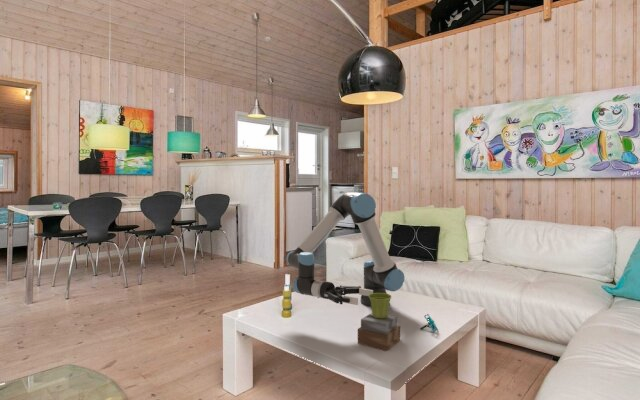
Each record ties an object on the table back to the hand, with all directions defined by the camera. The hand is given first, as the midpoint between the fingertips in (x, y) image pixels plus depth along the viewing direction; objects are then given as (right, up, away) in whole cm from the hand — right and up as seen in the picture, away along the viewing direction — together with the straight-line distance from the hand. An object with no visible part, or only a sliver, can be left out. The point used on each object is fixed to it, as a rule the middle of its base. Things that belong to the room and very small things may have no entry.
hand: (365, 297), depth 168 cm
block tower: (+5, -18, -3) cm, 19 cm away
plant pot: (+6, -8, -1) cm, 10 cm away
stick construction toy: (+30, -17, +12) cm, 36 cm away
